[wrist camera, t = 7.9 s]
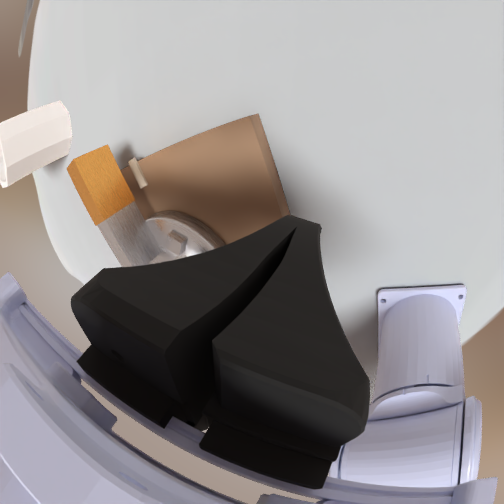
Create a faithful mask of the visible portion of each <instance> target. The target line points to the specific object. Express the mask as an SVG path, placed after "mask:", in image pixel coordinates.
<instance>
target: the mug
mask: <svg viewBox="0 0 504 504" xmlns="http://www.w3.org/2000/svg"><path fill="white" fill-rule="evenodd" d="M72 137H73V135H72V128H71V121H70V113H69V112H68V111H67V109H66V108H65V106H64V105H63V104H62V102H61V101H57V102H53V103H50V104H47V105H44V106H41V107H39V108H36V109H33V110H30V111H28V112H25V113H23V114H20V115H18V116H15V117H13V118H10V119H8V120H6V121H4V122H1V123H0V183H1V185H2V187H3V188H4V187H8V186H9V185H11V184H13V183H14V182H16V181H18V180H20V179H21V178H23V177H25V176H27V175H28V174H30V173H32V172H34V171H36V170H38V169H40V168H41V167H43V166H45V165H47V164H49V163H51V162H53V161H55V160H57V159H60V158H62V157H64V156H66V155H68V154H69V150H70V146H71V141H72Z"/></svg>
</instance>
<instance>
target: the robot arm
mask: <svg viewBox="0 0 504 504" xmlns="http://www.w3.org/2000/svg"><path fill="white" fill-rule="evenodd" d="M321 229H322V228H321V226H320V224H317V223H313V222H310V221H307V220H304V219H300V218H297V217H294V216H290V215H286V216H284V217H282V218H280V219H278V220H276V221H275V222H273V223H271V224H269V225H267V226H265V227H264V228H262V229H260V230H258V231H256V232H254V233H252V234H250V235H248V236H245V237H243V238H241V239H239V240H236V241H234V242H232V243H229V244H227V245H224V246H222V247H219V248H216V249H213V250H210V251H207V252H204V253H200V254H196V255H192V256H188V257H184V258H180V259H176V260H172V261H166V262H161V263H155V264H148V265H141V266H131V267H119V268H104V269H102V270H101V271H100V272H99V273H98V274H97V275H95V276H94V277H93V278H92V279H91V280H90V281H89V282H88V283H86V284H85V285H84V286H83V287H82V288H81V289H80V290H79V291H78V292H77V293H76V294H74V295H73V296H72V298H71V307H72V311H73V313H74V315H75V317H76V319H77V321H78V322H79V324H80V326H81V328H82V329H83V331H84V333H85V334H86V336H87V338H88V339H89V341H90V342H91V346H90V347H89V348H88V349H87V350H86V351H85V352H84V353H82V352H81V351H80V350H79V349H77V348H76V347H75V346H74V345H73V344H72V343H71V342H69V341H68V340H67V339H66V338H65V337H64V336H63V335H62V334H61V333H60V332H59V331H58V330H57V329H56V328H55V327H53V325H52V324H51V323H50V322H49V321H47V320H46V318H45V317H44V316H43V315H42V314H41V313H40V312H39V311H38V310H37V309H36V308H35V307H34V306H33V305H32V304H31V302H30V301H29V300H28V299H27V297H26V294H25V293H24V291H23V289H22V288H21V286H20V285H19V283H18V282H17V280H16V279H15V278H14V277H13V275H12V274H11V273H10V272H7V273H6V274H5V275H4V276H3V277H2V278H1V279H0V504H246V503H244V502H241V501H239V500H236V499H234V498H231V497H228V496H226V495H224V494H221V493H219V492H216V491H214V490H212V489H210V488H208V487H206V486H203V485H201V484H199V483H197V482H195V481H193V480H191V479H189V478H187V477H185V476H183V475H181V474H179V473H177V472H176V471H174V470H172V469H170V468H169V467H167V466H165V465H163V464H161V463H160V462H158V461H156V460H155V459H153V458H152V457H150V456H148V455H147V454H145V453H144V452H142V451H141V450H139V449H138V448H136V447H134V446H133V445H132V444H130V443H129V442H127V441H126V440H124V439H123V438H122V437H120V436H119V435H118V434H116V433H115V432H114V431H112V429H111V428H112V427H113V425H114V424H115V422H116V421H117V417H116V416H114V415H113V414H112V413H111V412H110V411H108V410H107V409H106V408H105V407H104V406H103V405H102V404H101V403H100V402H99V401H97V399H96V398H95V397H94V396H93V395H92V394H91V393H90V392H89V391H88V390H86V389H85V388H84V387H83V386H82V385H81V379H83V380H84V381H85V382H86V383H87V384H88V385H90V386H91V387H92V388H93V389H94V390H95V391H97V392H98V393H99V394H100V395H102V396H103V397H104V398H105V399H107V400H108V401H109V402H110V403H112V404H113V405H114V406H116V407H117V408H118V409H120V410H121V411H123V412H124V413H125V414H127V415H128V416H130V417H131V418H133V419H134V420H135V421H137V422H138V423H140V424H141V425H143V426H144V427H146V428H148V429H149V430H151V431H152V432H154V433H155V434H157V435H159V436H160V437H162V438H164V439H165V440H167V441H169V442H170V443H172V444H174V445H176V446H178V447H180V448H181V449H183V450H185V451H187V452H189V453H191V454H193V455H195V456H197V457H199V458H201V459H203V460H205V461H207V462H209V463H211V464H213V465H216V466H218V467H220V468H222V469H225V470H227V471H229V472H232V473H234V474H237V475H239V476H242V477H244V478H247V479H250V480H252V481H256V482H258V483H261V484H264V485H267V486H270V487H273V488H277V489H280V490H283V491H287V492H290V493H295V494H298V495H302V496H306V497H311V498H315V499H320V500H321V501H318V502H317V503H312V502H307V501H302V500H297V499H292V498H288V497H284V496H280V495H276V494H271V495H266V494H263V495H261V496H260V498H259V500H258V502H257V504H493V502H494V497H495V492H496V486H497V480H498V478H497V477H491V478H485V479H477V476H478V469H479V462H480V452H481V436H482V434H481V433H482V406H481V402H480V401H479V400H478V399H475V396H471V397H468V398H467V399H466V397H465V390H464V370H463V358H462V350H461V340H460V333H459V323H460V319H461V315H462V311H463V307H464V302H465V298H466V293H467V289H466V287H465V286H464V285H452V286H437V287H419V288H398V289H381V290H380V291H379V292H378V359H379V361H378V368H377V374H376V380H375V386H374V392H373V397H372V402H371V404H369V402H370V381H369V378H368V377H367V375H366V373H365V372H364V370H363V368H362V366H361V365H360V363H359V361H358V360H357V358H356V356H355V354H354V352H353V350H352V348H351V346H350V344H349V342H348V340H347V338H346V336H345V334H344V331H343V329H342V327H341V324H340V322H339V319H338V317H337V315H336V312H335V310H334V307H333V304H332V301H331V298H330V294H329V291H328V288H327V284H326V280H325V275H324V270H323V265H322V258H321V250H320V233H321ZM459 295H461V296H459ZM382 299H386V300H382ZM208 427H209V428H208ZM206 429H208V430H207V432H206V433H204V432H202V431H203V430H206ZM328 473H329V477H328V476H327V475H328ZM476 479H477V480H476Z"/></svg>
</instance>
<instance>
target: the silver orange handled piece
mask: <svg viewBox="0 0 504 504" xmlns="http://www.w3.org/2000/svg"><path fill="white" fill-rule="evenodd" d="M67 171H68V173H69V175H70V177H71V179H72V181H73V183H74V185H75V187H76V189H77V191H78V193H79V195H80V197H81V199H82V201H83V203H84V205H85V207H86V209H87V211H88V213H89V215H90V216H91V218H92V220H93V222H94V224H95V225H97V226H98V227H99V229H100V231H101V233H102V234H103V236H104V238H105V240H106V241H107V243H108V245H109V246H110V248H111V250H112V251H113V253H114V254H115V256H116V258H117V259H118V261H119V262H120V264H121V266H122V267H131V266H141V265H148V264H155V263H161V262H166V261H172V260H176V259H180V258H184V257H188V256H192V255H196V254H200V253H204V252H207V251H210V250H213V249H216V248H219V247H222V246H224V245H225V243H224V242H223V241H222V240H221V239H220V238H219V236H218V235H217V234H215V233H214V232H213V231H212V230H211V229H210V228H209V227H207V226H206V225H205V224H203V223H202V222H200V221H199V220H197V219H195V218H193V217H191V216H189V215H187V214H184V213H181V212H176V211H160V212H157V213H154V214H153V215H151V216H149V217H148V218H147V219H145V220H144V218H143V216H142V214H141V212H140V211H139V209H138V207H137V205H136V203H135V198H134V196H133V194H132V192H131V190H130V188H129V187H128V185H127V183H126V181H125V179H124V177H123V175H122V173H121V171H120V169H119V167H118V165H117V163H116V161H115V159H114V157H113V155H112V153H111V150H110V148H109V146H108V145H105V146H103V147H100V148H98V149H96V150H93V151H91V152H89V153H86V154H84V155H82V156H80V157H77V158H75V159H73V161H72V162H71V163H70V165H69V166H68V167H67Z"/></svg>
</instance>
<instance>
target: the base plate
mask: <svg viewBox="0 0 504 504" xmlns="http://www.w3.org/2000/svg"><path fill="white" fill-rule="evenodd" d="M128 164H129V166H127V167H125V168H124V169H122V170H120V171H121V173H122V175H123V177H124V179H125V181H126V183H127V185H128V187H129V188H130V190H131V192H132V194H133V196H134V198H135V203H136V205H137V207H138V209H139V211H140V212H141V214H142V216H143V218H144V220H145V219H147V218H148V217H149V216H151V215H153V214H154V213H157V212H160V211H176V212H181V213H184V214H187V215H189V216H191V217H193V218H195V219H197V220H199V221H200V222H202V223H203V224H205V225H206V226H207V227H209V228H210V229H211V230H212V231H213V232H214V233H215V234H217V235H218V236H219V238H220V239H221V240H222V241H223V242H224V243H225V245H227V244H229V243H232V242H234V241H236V240H239V239H241V238H243V237H245V236H248V235H250V234H252V233H254V232H256V231H258V230H260V229H262V228H264V227H265V226H267V225H269V224H271V223H273V222H275V221H276V220H278V219H280V218H282V217H284V216H286V215H290V212H289V209H288V205H287V202H286V199H285V195H284V192H283V189H282V185H281V182H280V179H279V175H278V172H277V169H276V166H275V163H274V159H273V156H272V153H271V150H270V147H269V144H268V141H267V138H266V135H265V132H264V129H263V126H262V123H261V120H260V117H259V114H255V115H251V116H248V117H245V118H242V119H239V120H236V121H233V122H230V123H227V124H224V125H221V126H219V127H216V128H213V129H211V130H208V131H205V132H203V133H200V134H198V135H195V136H193V137H190V138H188V139H185V140H183V141H181V142H178V143H176V144H174V145H171V146H169V147H167V148H165V149H162V150H160V151H158V152H156V153H154V154H152V155H150V156H147V157H145V158H143V159H141V160H139V161H137V160H136V158H133V159H131V160H130V161H129V162H128Z"/></svg>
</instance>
